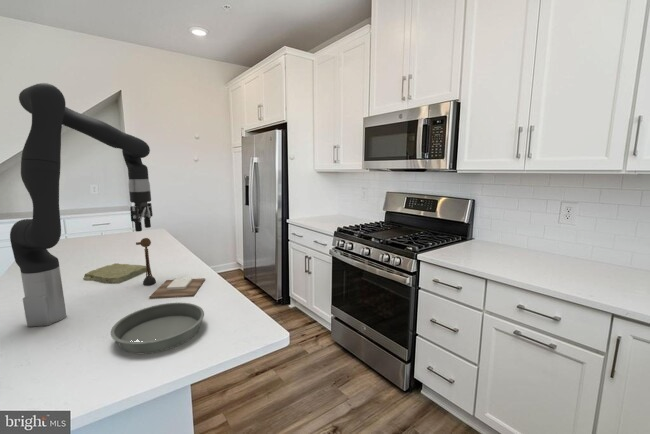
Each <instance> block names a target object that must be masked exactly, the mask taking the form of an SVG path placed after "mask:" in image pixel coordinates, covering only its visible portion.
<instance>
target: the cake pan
mask: <svg viewBox="0 0 650 434" xmlns="http://www.w3.org/2000/svg"><path fill="white" fill-rule="evenodd" d="M204 317H205V311H204V309H203V308H202V307H201V306H199V305H197V304H194V303H190V302H168V303H167V302H166V303H161V304H155V305H151V306H148V307H144V308H141V309H139V310H135V311H133V312H131V313H130V314H128V315H125V316H124V317H122V318H120V319H119V320H118V321H117V322H116V323H114V325H113V326H112V328H111V330H110V336H111V338H112V339H113V340H114V341H115V342H117V343H118V345H119V347H120V348H121V349H122V351H125V352H127V353H130V352H132V353H131V354H138V353H144V354H152V352H154V353H159V352H163V351H167V350H170V349H172V348H175V347H177V346H180V345H182V344H184V343H186V342H187V341H189V340H191V339H192V338H194V337H195V335H197V334H198V332H199V330H200V327H201V326H200V325H201V322H202V321H203V319H204ZM137 339H138V340H139V341H140V342H134V341H136V340H137ZM155 339H156V340H155ZM131 340H132V341H133V342H132V341H131ZM130 341H131V342H130ZM141 341H143V342H141ZM158 351H159V352H158Z"/></svg>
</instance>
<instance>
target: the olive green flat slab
mask: <svg viewBox="0 0 650 434" xmlns="http://www.w3.org/2000/svg"><path fill="white" fill-rule="evenodd" d="M143 274H146V265H141V264H130V263H115V262H114V263H113V264H108V265H105V266H102V267H99V268H96V269H92V270H91V271H89V272H86V273H85V274H84V276H83V277H82V280H83V281H88V282H89V281H90V282H92V281H93V282H98V283H103V284H116V285H120V284H121V283H122V284H123V283H124V282H126V281H129V280H131V279H134V278H136V277H138V276H140V275H143Z"/></svg>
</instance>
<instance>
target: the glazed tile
mask: <svg viewBox="0 0 650 434" xmlns="http://www.w3.org/2000/svg"><path fill="white" fill-rule="evenodd" d="M192 279H193V277H185V278H182V277H181V278H174V279H172V280H173V281H172V283H171V284H170V285H169V286H168V287H167V290H185V289H186V288H187V287H188V285H189V284H190V283H191V282H192Z"/></svg>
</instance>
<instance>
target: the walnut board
mask: <svg viewBox="0 0 650 434" xmlns="http://www.w3.org/2000/svg"><path fill="white" fill-rule="evenodd" d="M173 280H174V279H166V280H165V281H164V282H163V283H162V284H161V285H160V286H159V287H157V288H156V290H154V292H153V293H152V294H150V295H149V297H148V298H149V300H150V299H151V300H152V299H154V300H155V299H169V298H170V299H171V298H186V297H187V298H188V297H195V295H196V294H197V292H198V291H199V289H200V288H201V287H202V285H203V283H204V282H205V280H206V278H205V277H204V278H203V277H201V278H200V277H199V278H192V282H191V283H190V284H189V285H188V287H187V288H186V289H185V290H167V287H168V286H169V285H170V284H171V283H172V281H173Z"/></svg>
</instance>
